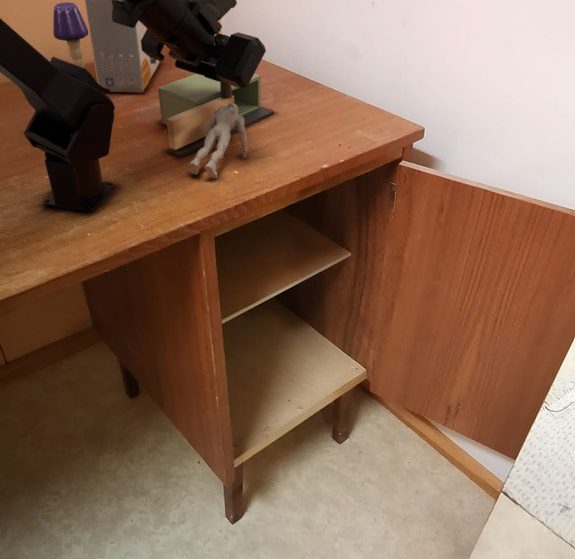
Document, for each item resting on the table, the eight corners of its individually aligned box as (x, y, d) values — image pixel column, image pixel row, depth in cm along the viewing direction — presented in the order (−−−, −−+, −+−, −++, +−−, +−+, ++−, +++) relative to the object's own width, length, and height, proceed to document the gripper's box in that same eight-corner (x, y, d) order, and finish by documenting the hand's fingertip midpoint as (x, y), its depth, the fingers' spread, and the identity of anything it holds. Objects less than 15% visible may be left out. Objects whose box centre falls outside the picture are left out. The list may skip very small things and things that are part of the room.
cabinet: (180, 157, 84) (176, 119, 80) (130, 135, 89) (125, 99, 86) (273, 113, 96) (274, 79, 93) (225, 96, 101) (224, 63, 98)
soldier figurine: (229, 193, 81) (259, 130, 87) (222, 166, 76) (254, 101, 82) (186, 185, 83) (218, 123, 88) (176, 157, 78) (211, 94, 84)
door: (176, 150, 84) (168, 77, 77) (168, 147, 84) (160, 74, 78) (235, 123, 91) (233, 54, 85) (228, 120, 92) (225, 51, 86)
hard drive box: (144, 94, 101) (127, -39, 89) (98, 93, 101) (75, -40, 89) (160, 63, 113) (148, -58, 101) (119, 61, 113) (102, -59, 101)
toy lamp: (95, 129, 90) (73, 10, 80) (66, 126, 91) (40, 7, 81) (109, 116, 94) (90, 1, 84) (81, 113, 95) (58, -2, 84)
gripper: (254, -32, 70) (309, 44, 83) (146, -55, 79) (212, 18, 92) (210, 54, 70) (271, 116, 83) (107, 22, 79) (178, 83, 92)
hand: (232, 80), depth 88 cm, fingers closed on door, 2 cm apart
